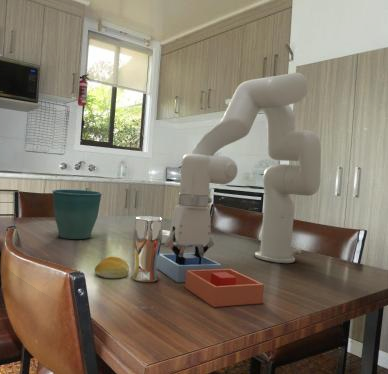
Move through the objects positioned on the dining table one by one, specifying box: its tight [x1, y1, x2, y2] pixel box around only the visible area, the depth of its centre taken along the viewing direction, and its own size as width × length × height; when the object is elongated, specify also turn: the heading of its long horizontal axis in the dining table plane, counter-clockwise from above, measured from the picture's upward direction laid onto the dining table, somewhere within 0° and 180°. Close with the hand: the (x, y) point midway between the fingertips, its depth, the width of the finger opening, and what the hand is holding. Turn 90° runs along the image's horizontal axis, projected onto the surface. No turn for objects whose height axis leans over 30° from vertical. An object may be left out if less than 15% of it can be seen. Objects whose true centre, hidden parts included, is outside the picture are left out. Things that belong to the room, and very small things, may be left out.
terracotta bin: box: [184, 268, 265, 308], centre depth 83 cm, size 12×12×4 cm
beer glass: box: [132, 215, 163, 283], centre depth 91 cm, size 7×7×15 cm
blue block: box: [183, 253, 199, 265], centre depth 97 cm, size 4×4×4 cm
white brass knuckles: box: [161, 229, 192, 247], centre depth 142 cm, size 3×18×15 cm
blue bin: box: [157, 252, 223, 283], centre depth 97 cm, size 12×12×4 cm
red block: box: [210, 272, 236, 286], centre depth 82 cm, size 4×4×4 cm
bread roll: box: [94, 256, 130, 279], centre depth 93 cm, size 8×9×4 cm
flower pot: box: [51, 189, 103, 240], centre depth 137 cm, size 18×18×17 cm
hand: (187, 270), depth 97 cm, fingers closed on blue block, 4 cm apart
